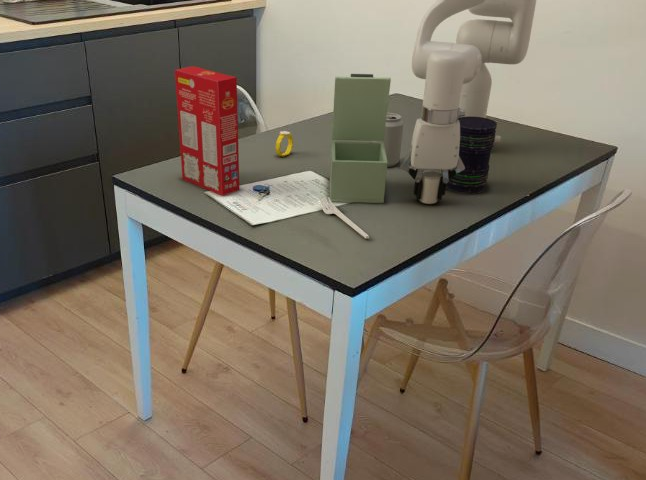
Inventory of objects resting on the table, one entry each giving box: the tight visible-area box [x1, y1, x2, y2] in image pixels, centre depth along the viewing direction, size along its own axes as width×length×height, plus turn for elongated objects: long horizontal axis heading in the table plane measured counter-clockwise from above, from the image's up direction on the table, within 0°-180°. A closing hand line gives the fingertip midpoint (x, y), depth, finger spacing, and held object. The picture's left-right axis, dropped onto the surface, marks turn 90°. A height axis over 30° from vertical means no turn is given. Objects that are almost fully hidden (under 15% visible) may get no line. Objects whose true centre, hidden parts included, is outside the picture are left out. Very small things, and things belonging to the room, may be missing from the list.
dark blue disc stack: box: [446, 117, 498, 195], centre depth 162 cm, size 10×10×15 cm
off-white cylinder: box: [419, 170, 441, 205], centre depth 156 cm, size 4×4×6 cm
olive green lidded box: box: [329, 140, 388, 204], centre depth 161 cm, size 14×12×9 cm
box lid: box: [331, 73, 392, 142], centre depth 160 cm, size 15×12×6 cm
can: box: [371, 112, 404, 168], centre depth 176 cm, size 8×8×12 cm
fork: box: [318, 196, 370, 240], centre depth 148 cm, size 3×20×2 cm, turn 24°
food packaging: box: [174, 65, 240, 196], centre depth 159 cm, size 15×5×25 cm, turn 44°
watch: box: [275, 130, 294, 157], centre depth 183 cm, size 6×3×6 cm, turn 144°
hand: (428, 196), depth 157 cm, fingers closed on off-white cylinder, 4 cm apart
